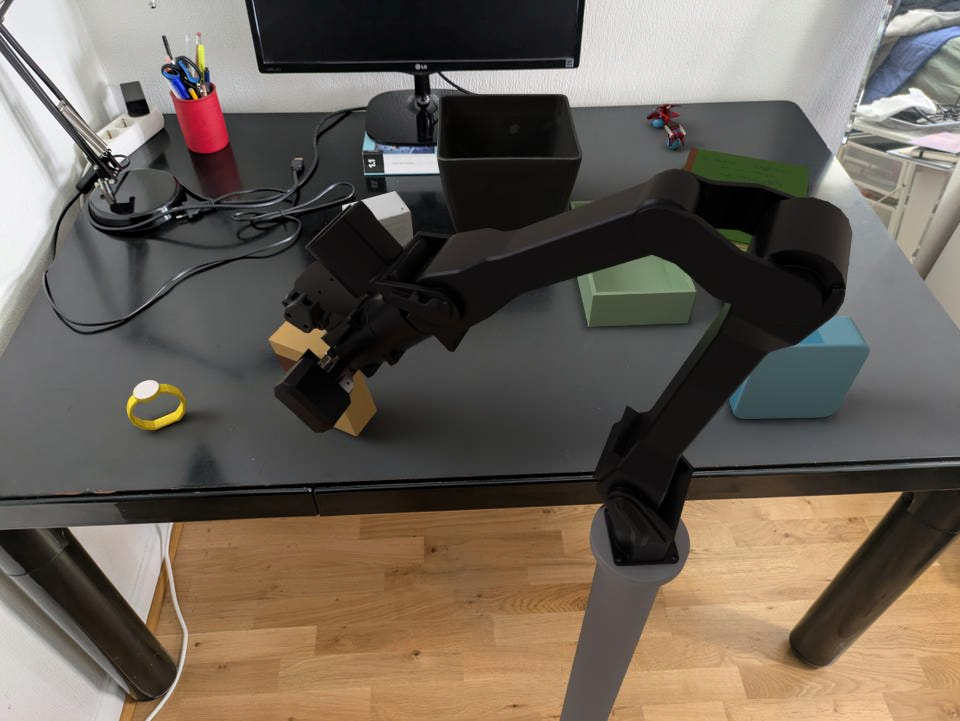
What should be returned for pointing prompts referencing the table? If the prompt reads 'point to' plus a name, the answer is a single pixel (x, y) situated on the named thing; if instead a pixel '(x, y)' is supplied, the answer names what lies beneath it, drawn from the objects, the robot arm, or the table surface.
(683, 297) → the green open tray
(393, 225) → the small box
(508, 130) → the flower pot
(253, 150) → the table surface
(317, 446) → the table surface
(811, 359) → the blue rounded flat block
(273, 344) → the chocolate carton
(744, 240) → the hardcover book
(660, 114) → the hoverbike
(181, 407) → the watch
